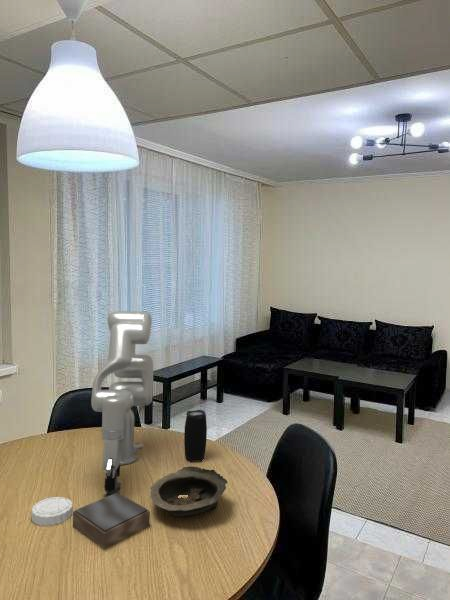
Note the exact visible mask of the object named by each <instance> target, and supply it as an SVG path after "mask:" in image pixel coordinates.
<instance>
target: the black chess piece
mask: <svg viewBox="0 0 450 600" xmlns="http://www.w3.org/2000/svg"><path fill="white" fill-rule="evenodd" d="M111 468H114V467H111ZM111 472H112V474H113V471H111ZM117 475H118V473H117V469H116V470H115V475H114V477H115V489H114V490H105V483H104V485H103V488H104V491H105V493H104V495H103V496H104V497H103V498H105V497H107V496H110V495H112V494H115V493H117V492H118V493H120V490H121V487H122V483H121V482H120V481H118V477H117Z"/></svg>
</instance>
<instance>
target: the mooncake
mask: <svg viewBox="0 0 450 600" xmlns="http://www.w3.org/2000/svg"><path fill="white" fill-rule="evenodd" d="M73 508H74V503H73V501H72V500H71V499H69V498H68V497H66V498H65V497H63V496H56V497H54V496H51V497H48V498H46V497H45V498H44V499H42V500H39V501H38V502H35V504H34V505H33V506H32V507H31V517H30V518H31V520H32V521H31V522H32V523H34V524H35V525H38V526H41V527H42V526H44V527H49V526H51V527H52V526H55V525H60V524H62V523H65V522H67V520H69V519H71V517H73V511H74V509H73Z"/></svg>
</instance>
